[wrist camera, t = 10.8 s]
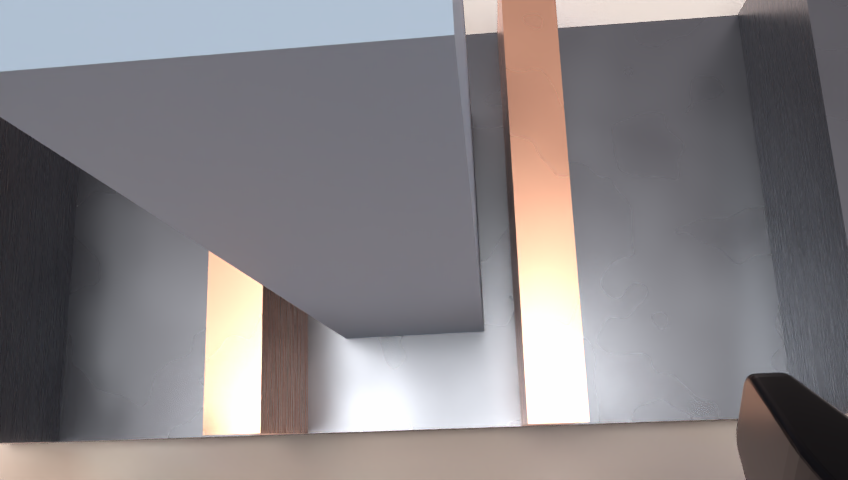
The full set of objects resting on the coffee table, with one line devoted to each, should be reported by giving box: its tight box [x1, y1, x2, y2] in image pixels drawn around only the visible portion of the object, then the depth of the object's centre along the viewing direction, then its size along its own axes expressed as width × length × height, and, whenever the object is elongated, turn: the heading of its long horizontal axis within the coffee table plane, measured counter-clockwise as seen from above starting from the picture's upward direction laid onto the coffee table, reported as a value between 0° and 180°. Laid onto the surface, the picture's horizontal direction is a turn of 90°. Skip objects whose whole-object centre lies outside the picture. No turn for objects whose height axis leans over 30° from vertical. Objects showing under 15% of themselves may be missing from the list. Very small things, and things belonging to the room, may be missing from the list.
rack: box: [0, 0, 848, 444], centre depth 16 cm, size 9×19×4 cm, turn 92°
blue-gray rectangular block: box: [0, 0, 484, 339], centre depth 11 cm, size 5×3×13 cm, turn 2°
